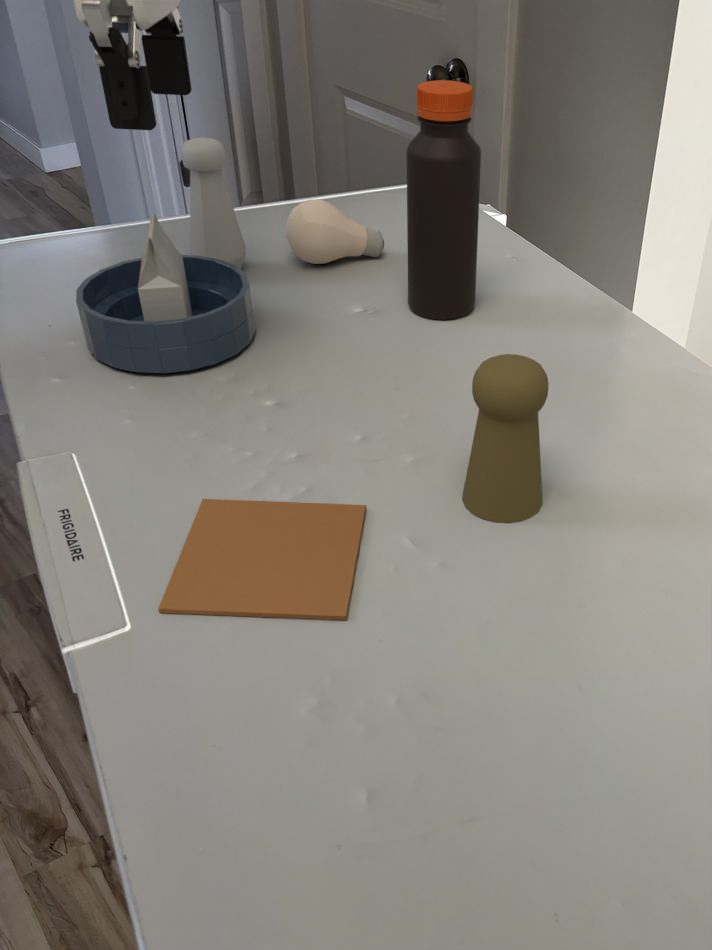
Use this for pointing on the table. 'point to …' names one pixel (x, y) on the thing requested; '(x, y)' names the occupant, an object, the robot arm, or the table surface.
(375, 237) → the light bulb
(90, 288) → the bowl
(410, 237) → the bottle
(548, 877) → the table surface
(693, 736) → the table surface
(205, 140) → the salt shaker
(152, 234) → the white milk carton
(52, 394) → the table surface
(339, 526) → the mat
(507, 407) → the pepper shaker
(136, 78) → the robot arm
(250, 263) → the table surface
